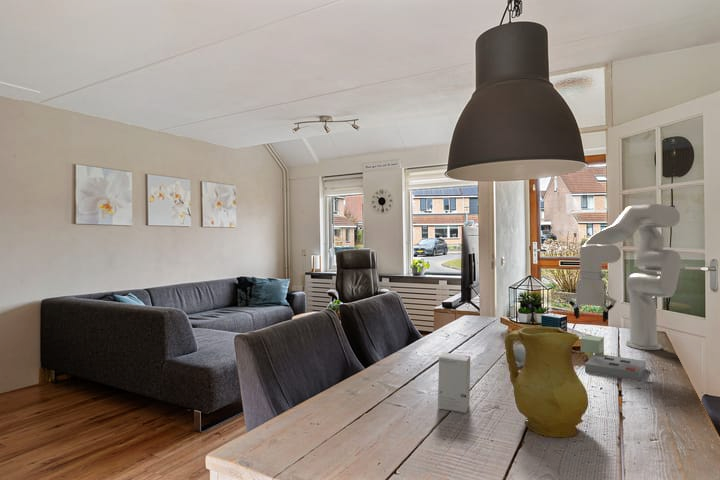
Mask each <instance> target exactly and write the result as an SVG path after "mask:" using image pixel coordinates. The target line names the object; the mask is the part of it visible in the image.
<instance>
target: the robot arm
mask: <svg viewBox="0 0 720 480" xmlns="http://www.w3.org/2000/svg"><path fill="white" fill-rule="evenodd" d="M680 220H681V213H680V212H679V210H678V209H677V208H676V207H674V206H671V205H664V204H661V203H660V204H658V203H641V204H633V205H628V206H627V207H625V208H624V209H623V210H622V212H621V213H620V214H619V216H618V217H617V218H616V219H615V220H614V221H613V222H612V224H611V225H609V226H607V227H605V228H603V229H601V230H599V231H597V232H596V233H594V234H592V235H591V236H590V237H589V238H588V239H587V240H586V242H584V244H583V245H581V246H579V278H578V279H577V284H576V289H575V290H576V291H575V293H574V294H570V295H567V296H566V299H567V301H568V303H569V305H571V307H572V308H573V316H574V317H575V319H576V320H578V319H579V318H580V308H579V307H580V305H582V306H593V307H601V309H603V311H602V322H603V323H605V322H607V321H608V320H609V311H610V310H612V309H613V308H614V307H615V305H616V304H617V299H615V298H612V297H611V296H609V295H607V289H606V283H605V280H604V279H603V278H607V274H606V273H603V270H602V268H603V265H602V264H614V263H616V262H618V261H619V260H620V258H621V255H622V253H621V250H620V248H619V247H618V246H617V245H615V244H617V243H618V244H619V243H621V242H626V241H627V240H630V238H632V237H633V235H634V234H635V232H636V231H638V233H639V235H640V236H639V237H640V241H639V247H638V251H637V255H636V259H635V265H636V268H637V269H639V270H641V271H645V272H634V273H631V274H630V275H629V276H628V277H627V279H626V289H627V292H628V297H629V298H628V299H629V335H630V336H629V339H630V340H627V341H626V342H625V345H626V346H627V347H630V348H633V349H637V350H645V351H657V350H661V349H662V345H661V344H660V343H658V331H657V330H658V327H657V326H658V325H657V324H658V323H657V322H658V321H657V320H658V319H657V304H656V302H655V300H654V298H653V297H655V298H665V299H666V298H671V297H673V296H674V295H675V293H676V290H677V287H678V282H679V277H680V272H681V269H682V259H681V255H680V254H679V252H677V251H676V250H673V249H664V244H665V238H664V236H663V234H662V233H661V232H660V231H659V229H657V228H673V227H675V226H677V225H678V224H679V222H680ZM648 272H649V273H648ZM650 272H651V273H650ZM652 272H658V273H652ZM573 298H575V302H576V303H575V302H574V301H573ZM607 301H608V302H610V304H609V305H607Z"/></svg>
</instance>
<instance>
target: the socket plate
mask: <svg viewBox="0 0 720 480" xmlns="http://www.w3.org/2000/svg"><path fill="white" fill-rule="evenodd" d="M646 363H647V362H646V360H642V359H636V358H635V359H634V358H630V357H629V358H628V357H623V356H622V357H621V356H616V355H615V356H614V355H608V354H604V355H602V354H595V353H593V356H592V357H591V358H590V359H589V360H588V359H587V361H586V362H585V363H584V372H585V373H589V374H596V375H599V376H607V377H612V378H618V379H623V380H627V381H635V382H639V381H640V380H641V379H642V376H643V375H644V373H645V371H646V370H647V369H646V368H647V365H646Z"/></svg>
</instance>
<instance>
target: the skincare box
mask: <svg viewBox="0 0 720 480" xmlns="http://www.w3.org/2000/svg"><path fill="white" fill-rule="evenodd" d="M470 385H471V356H470V355H465V354H459V353H449V352H443V353H441V355H439V357H438V385H437V386H438V389H437V393H438V394H437V409H438V410H444V411H445V410H447V411H452V412H459V413H463V414H464V413H465V414H466V413H467V411H468V409H469V408H470V400H471V399H470V393H471V391H470V390H471V388H470V387H471V386H470Z"/></svg>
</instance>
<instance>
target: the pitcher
mask: <svg viewBox="0 0 720 480" xmlns="http://www.w3.org/2000/svg"><path fill="white" fill-rule="evenodd" d="M579 339H580V336H579V335H578V334H577V333H573V332H571V331H570V332H568V331H566V330H563V329H562V328H561V327H557V326H556V327H553V326H537V325H536V326H528V327H525V326H524V327H521V328H519V329H516V330H513V331H511V332H510V333H508V334H507V335H506V336H505V339H504V348H505V351H506V352H505V355H506V357H505V358H506V363H507V365H508V371H509V377H510V379H509V380H510V383H511V385H512V386H513V396H514V401H515V406H516V408H517V410H518V411H519V413H520V414H522V415H523V416H524V417H525V418H526V419H525V420H524V421H525V422H524V421H523V422H524V424H525V423H526V425H525V427H526V426H527V427H528V428H527V427H526V428H527V429H528V430H532V431H531V432H533V431H534V432H535V433H534V432H533V433H534V434H536V433H537V434H536V435H541V436H543V435H544V437H550V438H551V437H552V438H571V437H575V436H577V435H579V433H580V431H579V430H578V427H577V426H578V425H580V424H582V423H583V422H584V421H583V420H582V417H583V415H585V414H586V411H587V410H588V406H589V398H588V397H589V396H588V392H587V389H586V387H585V385H584V384H583V382H582V381H581V379H580V378H579V376H578V374H577V372H576V370H575V367H574V365H573V358H572V356H573V355H572V354H573V353H572V351H573V346H574V344H575V343H576V342H577V341H578V340H579ZM515 340H518V341H520V343H521V344H523V346H524V347H525V351H526V356H525V362H524V365H523V366H522V368H521V370H520V371H519V367H517V363H518V362H517V361H516V359H515V355H514V341H515ZM526 420H528V421H526Z"/></svg>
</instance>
